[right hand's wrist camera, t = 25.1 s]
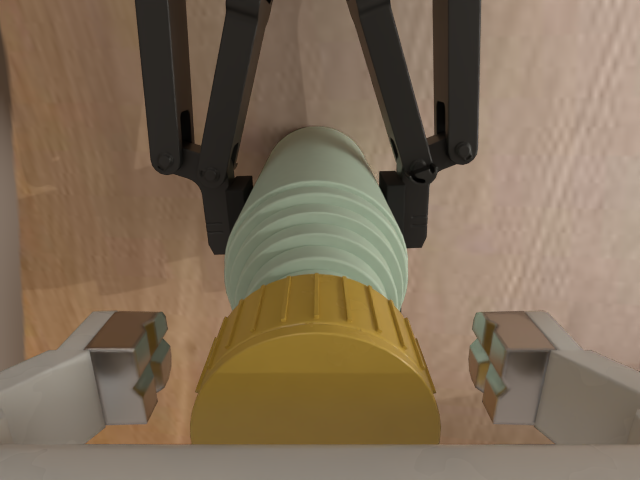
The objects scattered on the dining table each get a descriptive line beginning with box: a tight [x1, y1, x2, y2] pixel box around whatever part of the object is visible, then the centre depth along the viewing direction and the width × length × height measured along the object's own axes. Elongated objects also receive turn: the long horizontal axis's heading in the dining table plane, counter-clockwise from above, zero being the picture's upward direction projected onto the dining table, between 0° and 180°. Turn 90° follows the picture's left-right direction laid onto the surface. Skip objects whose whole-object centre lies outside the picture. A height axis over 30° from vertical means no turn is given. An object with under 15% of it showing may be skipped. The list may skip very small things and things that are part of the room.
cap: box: [190, 273, 441, 444], centre depth 9 cm, size 5×5×2 cm
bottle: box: [224, 126, 408, 311], centre depth 18 cm, size 6×6×19 cm
